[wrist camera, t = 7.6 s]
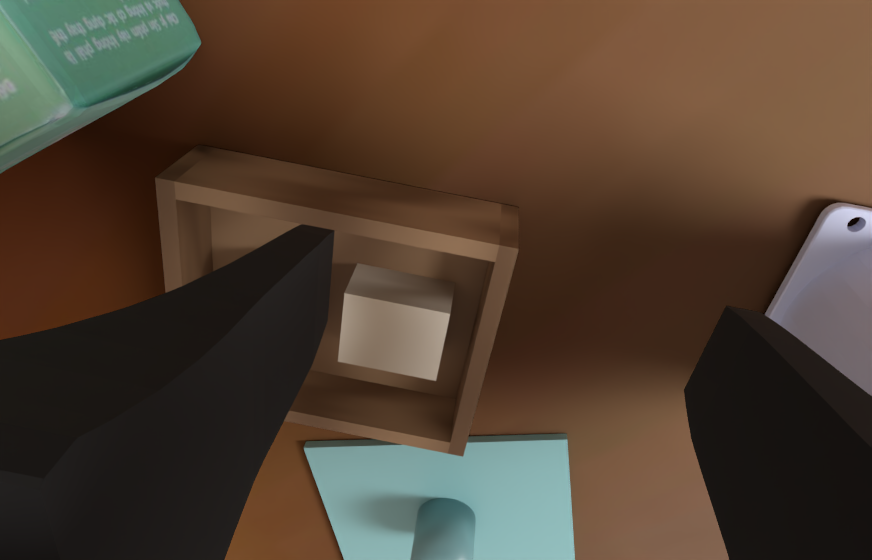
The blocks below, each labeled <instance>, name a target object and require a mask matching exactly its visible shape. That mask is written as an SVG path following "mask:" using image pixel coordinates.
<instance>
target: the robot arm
mask: <svg viewBox="0 0 872 560" xmlns="http://www.w3.org/2000/svg"><path fill="white" fill-rule="evenodd" d="M855 217H860V218H859V221H858V222H857V223H856V224H855V225H853V226H847V225H848V222H849V221H850V220H851V219H853V218H855ZM334 232H335V230H331V229H326V228H320V227H315V226H310V225H305V224H301V225H299V226H297V227H295V228H293V229H291V230H289V231H287V232H285V233H284V234H282V235H280V236H278V237H277V238H275V239H273V240H271V241H270V242H268V243H266V244H264V245H263V246H261V247H259V248H257V249H255V250H253V251H252V252H250V253H248V254H246V255H244V256H242V257H241V258H239V259H237V260H235V261H233V262H231V263H229V264H227V265H225V266H223V267H221V268H219V269H217V270H215V271H213V272H211V273H209V274H207V275H204V276H202V277H200V278H198V279H196V280H194V281H192V282H190V283H188V284H186V285H183V286H181V287H179V288H176V289H174V290H172V291H169V292H167V293H164V294H162V295H159V296H156V297H154V298H151V299H148V300H145V301H143V302H140V303H137V304H134V305H132V306H129V307H126V308H123V309H120V310H117V311H113V312H110V313H106V314H103V315H99V316H96V317H92V318H89V319H85V320H82V321H78V322H75V323H71V324H68V325H64V326H61V327H57V328H53V329H49V330H45V331H40V332H36V333H31V334H27V335H23V336H18V337H13V338H8V339H3V340H0V560H224V559H225V556H226V554H227V551H228V548H229V545H230V543H231V540H232V537H233V535H234V532H235V529H236V527H237V524H238V521H239V519H240V516H241V514H242V511H243V509H244V506H245V503H246V501H247V498H248V496H249V493H250V490H251V488H252V485H253V483H254V480H255V478H256V476H257V474H258V472H259V469H260V467H261V465H262V463H263V461H264V459H265V457H266V455H267V453H268V451H269V449H270V447H271V445H272V443H273V441H274V439H275V437H276V435H277V433H278V431H279V429H280V427H281V425H282V424H283V422H284V420H285V418H286V416H287V414H288V412H289V410H290V408H291V406H292V404H293V402H294V400H295V398H296V396H297V394H298V392H299V390H300V388H301V386H302V384H303V382H304V380H305V378H306V376H307V374H308V372H309V370H310V368H311V366H312V364H313V362H314V359H315V356H316V353H317V351H318V348H319V345H320V342H321V339H322V336H323V333H324V330H325V327H326V324H327V321H328V311H329V298H330V285H331V272H332V259H333V246H334ZM684 393H685V401H686V409H687V416H688V422H689V428H690V433H691V439H692V442H693V446H694V449H695V452H696V456H697V459H698V462H699V465H700V468H701V472H702V475H703V478H704V481H705V484H706V487H707V490H708V494H709V497H710V500H711V503H712V506H713V509H714V512H715V515H716V518H717V521H718V525H719V528H720V531H721V534H722V537H723V540H724V543H725V546H726V549H727V553H728V556H729V560H872V208H868V207H863V206H858V205H853V204H848V203H834V204H831V205H829V206H828V207H826V208H825V209H824V210H823V211H822V212H821V214H820V215H819V217H818V219H817V221H816V223H815V224H814V226H813V228H812V230H811V232H810V233H809V235H808V237H807V239H806V241H805V243H804V244H803V246H802V248H801V250H800V252H799V253H798V255H797V257H796V259H795V261H794V262H793V264H792V266H791V268H790V270H789V271H788V273H787V275H786V277H785V279H784V280H783V282H782V284H781V286H780V288H779V289H778V291H777V293H776V295H775V297H774V298H773V300H772V302H771V304H770V306H769V307H768V309H767V311H766V313H765V315H764V314H762V313H760V312H756V311H751V310H746V309H740V308H735V307H730V306H726V307H725V309H724V311H723V313H722V315H721V317H720V319H719V321H718V323H717V325H716V327H715V329H714V331H713V333H712V335H711V337H710V339H709V341H708V343H707V345H706V347H705V349H704V351H703V353H702V355H701V357H700V359H699V361H698V363H697V365H696V367H695V369H694V371H693V373H692V375H691V377H690V379H689V381H688V383H687V385H686V387H685V389H684Z"/></svg>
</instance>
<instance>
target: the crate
mask: <svg viewBox="0 0 872 560" xmlns="http://www.w3.org/2000/svg"><path fill="white" fill-rule="evenodd" d="M155 184H156V195H157V205H158V216H159V227H160V238H161V248H162V259H163V270H164V281H165V292H166V293H167V292H169V291H172V290H174V289H176V288H179V287H181V286H183V285H186V284H188V283H190V282H192V281H194V280H196V279H198V278H200V277H202V276H204V275H207V274H209V273H211V272H213V271H215V270H217V269H219V268H221V267H223V266H225V265H227V264H229V263H231V262H233V261H235V260H237V259H239V258H241V257H242V256H244V255H246V254H248V253H250V252H252V251H253V250H255V249H257V248H259V247H261V246H263V245H264V244H266V243H268V242H270V241H271V240H273V239H275V238H277V237H278V236H280V235H282V234H284V233H285V232H287V231H289V230H291V229H293V228H295V227H297V226H299V225H301V224H305V225H310V226H315V227H320V228H326V229H331V230H335V232H334V246H333V259H332V272H331V285H330V298H329V311H328V321H327V324H326V327H325V330H324V333H323V336H322V339H321V342H320V345H319V348H318V351H317V353H316V356H315V359H314V362H313V364H312V366H311V368H310V370H309V372H308V374H307V376H306V378H305V380H304V382H303V384H302V386H301V388H300V390H299V392H298V394H297V396H296V398H295V400H294V402H293V404H292V406H291V408H290V410H289V412H288V414H287V416H286V418H285V420H284V421H287V422H292V423H297V424H302V425H307V426H312V427H317V428H322V429H327V430H332V431H337V432H342V433H347V434H352V435H357V436H362V437H367V438H372V439H377V440H382V441H387V442H392V443H397V444H402V445H407V446H412V447H417V448H422V449H427V450H432V451H437V452H442V453H447V454H452V455H457V456H462V457H463V456H464V452H465V448H466V444H467V441H468V437H469V433H470V429H471V426H472V422H473V418H474V415H475V411H476V407H477V403H478V400H479V396H480V392H481V389H482V385H483V381H484V377H485V374H486V370H487V366H488V363H489V359H490V355H491V351H492V348H493V344H494V340H495V336H496V333H497V329H498V325H499V322H500V318H501V314H502V310H503V307H504V303H505V299H506V296H507V292H508V288H509V284H510V281H511V277H512V273H513V270H514V266H515V262H516V258H517V255H518V251H519V207H515V206H510V205H505V204H500V203H495V202H490V201H484V200H479V199H474V198H469V197H464V196H459V195H454V194H449V193H444V192H438V191H433V190H428V189H423V188H418V187H413V186H408V185H403V184H398V183H392V182H387V181H382V180H377V179H372V178H367V177H362V176H357V175H352V174H346V173H341V172H336V171H331V170H326V169H321V168H316V167H311V166H306V165H300V164H295V163H290V162H285V161H280V160H275V159H270V158H265V157H260V156H254V155H249V154H244V153H239V152H234V151H229V150H224V149H219V148H214V147H208V146H203V145H197V146H196V147H195V148H193V149H192V150H191V151H189V152H188V153H187V154H185V155H184V156H183V157H181V158H180V159H179V160H177V161H176V162H175V163H174V164H172V165H171V166H170V167H168V168H167V169H166V170H164V171H163V172H162V173H160V174H159V175H158V176H156V177H155Z"/></svg>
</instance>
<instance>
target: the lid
mask: <svg viewBox="0 0 872 560" xmlns="http://www.w3.org/2000/svg"><path fill="white" fill-rule="evenodd" d="M304 451H305V454H306V456H307V459H308V462H309V465H310V467H311V470H312V473H313V476H314V478H315V481H316V484H317V487H318V489H319V492H320V495H321V498H322V500H323V503H324V506H325V508H326V511H327V514H328V517H329V519H330V522H331V525H332V528H333V530H334V533H335V536H336V539H337V541H338V544H339V547H340V550H341V552H342V555H343V558H344V560H575V554H574V538H573V522H572V506H571V491H570V475H569V459H568V443H567V433H566V434H533V435H499V436H469V437H468V441H467V444H466V448H465V452H464V456H463V457H462V456H457V455H452V454H447V453H442V452H437V451H432V450H427V449H422V448H417V447H412V446H407V445H402V444H397V443H392V442H387V441H382V440H377V439H365V440H332V441H306V443H305V445H304Z"/></svg>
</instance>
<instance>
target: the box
mask: <svg viewBox="0 0 872 560" xmlns="http://www.w3.org/2000/svg"><path fill="white" fill-rule="evenodd" d="M200 45H201V40H200V38H199V36H198V34H197V31H196V28H195V26H194V24H193V22H192V21H191V19H190V18H189V16H188V14H187V13H186V11H185V10H184V8H183V6H182V5H181V3H180V2H179V0H0V173H2V172H3V171H5V170H7V169H8V168H10V167H12V166H14V165H16V164H17V163H19V162H21V161H23V160H24V159H26V158H28V157H30V156H32V155H33V154H35V153H37V152H39V151H41V150H42V149H44V148H46V147H48V146H50V145H51V144H53V143H55V142H57V141H59V140H60V139H62V138H64V137H66V136H68V135H69V134H71V133H73V132H75V131H77V130H79V129H80V128H82V127H84V126H86V125H88V124H90V123H91V122H93V121H95V120H97V119H99V118H100V117H102V116H104V115H106V114H108V113H110V112H111V111H113V110H115V109H117V108H119V107H120V106H122V105H124V104H126V103H128V102H129V101H131V100H133V99H135V98H136V97H138V96H140V95H142V94H143V93H145V92H147V91H149V90H151V89H153V88H155V87H156V86H158V85H160V84H161V83H162V82H164V81H165V80H167V79H168V78H170V77H171V76H173V75H174V74H176V73H177V72H179V71H180V70H181V69H183V68H184V67H185V65H186V64H187V63H188V62H189V61H190V60H191V58H192V57H193V55H194V54H195V52H196V51H197V49H198V48H199V46H200Z"/></svg>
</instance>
